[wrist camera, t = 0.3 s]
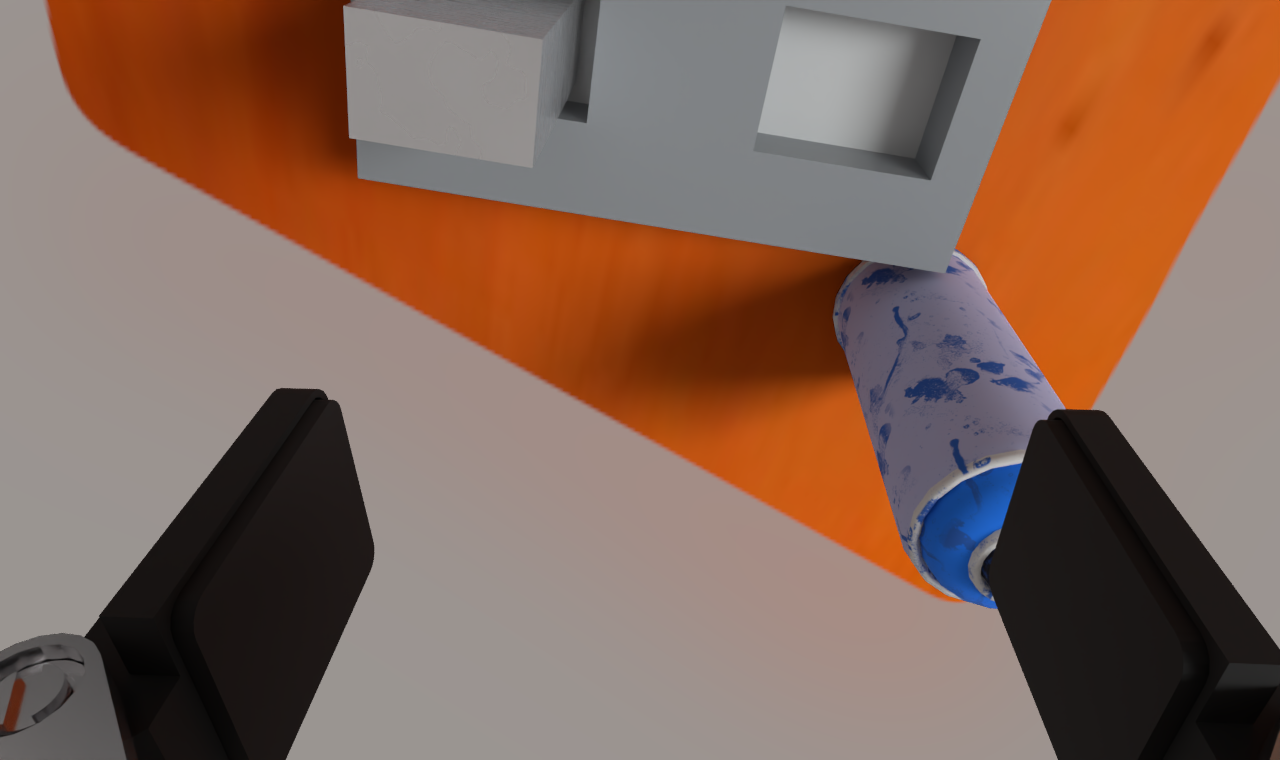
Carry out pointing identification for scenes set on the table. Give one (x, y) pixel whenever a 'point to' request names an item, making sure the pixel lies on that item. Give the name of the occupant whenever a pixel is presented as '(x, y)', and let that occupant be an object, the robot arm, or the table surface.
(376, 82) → the block
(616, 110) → the grey slotted board
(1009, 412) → the aerosol can
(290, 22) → the table surface
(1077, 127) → the table surface
